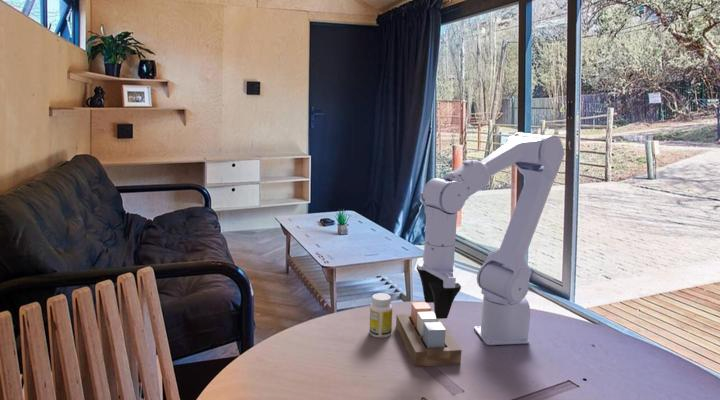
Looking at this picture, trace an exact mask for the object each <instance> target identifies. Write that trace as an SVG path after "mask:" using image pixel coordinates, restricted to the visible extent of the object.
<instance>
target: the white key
mask: <svg viewBox="0 0 720 400" xmlns="http://www.w3.org/2000/svg"><path fill="white" fill-rule="evenodd" d="M425 322H438V319H437V318H436V316H435V311H434V310H433V311H432V310H431V312H417V330H418V332H419V334H420V335H421V336H423V330H424V323H425Z"/></svg>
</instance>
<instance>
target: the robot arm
mask: <svg viewBox="0 0 720 400" xmlns="http://www.w3.org/2000/svg"><path fill="white" fill-rule="evenodd" d="M564 156H565V149H564V146H563V142H562V140H561V138H560V137H558V136H557V135H554V134H553V135H544V134H538V133H537V134H535V133H525V132H523V131H518V132H515V133H514V134H513V135H510V136H508V137H507V138H506V141H505V143H503V144H502V145H501V146H499V147H498V148H497V149H495V150H494V151H493V152H492V153H490V154H488V155H487V156H486V157H484V158H483V159H482V160H480V161H479V160H476V159H466V160H464V161H463V162H462V163H463V164H461V166H458V167H457V168H456V169H454V170H452V171H448V172H446V173H445V175H444V176H442V178H438V177H434V178H432V179H430V180H428V181H427V182H426V183H425V185H424V187H423V188H422V191H421V192H420V201H421V203H422V204H423V206H424V214H425V227H424V229H425V230H424V231H425V232H424V247H423V248H424V249H423V254H422V255H423V256H422V262H420V263H417V264H416V270H417V272H418V275H419V278H420V282H421V285H422V292H423V299H424V302H426V303H428V304H431V303H432V304H433V308H434V310H433V312H434V313H435V316H436V318H437V319H440V320H443V319H444V320H445V319H448V317H449V314H450V311H451V308H452V305H453V303H454V300H455V298H456V296H457V295H458V293H459V292H460V291H461V290H462V289H461V288H462V285H461V284H460V283H458V282H456V280H457V279H456V278H457V277H456V276H455V268H456V266H455V251H456V239H457V238H456V237H457V225H458V223H457V222H458V221H457V220H458V212H460V211H461V210H462V209H463V208H464V205H465V203H466V201H467V200H468V199H469V197H471V196H472V195H474V194H476V193H477V192H479V191H480V190H482V189H483V188H485V187H486V186H488V185H489V183H490V179H491V176H493V175H495V174H497V173H499V172H501V171H503V170H505V169H508V167H510V166H512V165H514V166H515V167H516V169H517V170H518V171H519V173H520V174H521V175H523V179H524V185H523V187H522V189H521V192H520V194H519V197H518V199H517V202H516V205H515V208H514V210H513V213H512V215H511V218H510V221H509V223H508V226H507V229H506V231H505V234H504V236H503V239H502V242H501V244H500V247H499V248H498V249H497V250H496V251H494V252H491V253H489V254H488V255H487V256H486V259H485V261H484V263H483V264H482V265H481V266H480V268H479V269H478V271H477V275H476V283H477V286H478V288H480V289H481V292H480V293H481V294H482V295H483V298H482V311H481V313H482V314H481V320H480V321H481V324H480V325H479V326H476V325H475V326H474V327H473V330H474V331H475V332H476V334H478V336H479V337H480V338H481V340H482V341H483V342H484V343H485V344H486V346H496V345H497V346H499V345H516V344H517V345H521V344H529V343H530V340H529V339H528V338H529V332H530V331H529V329H530V321H531V307H530V304H529V301H528V299H527V298H526V297H527V295H528V292H529V288H530V278H531V276H532V273H533V272H532V270H531V268H530V266H529V265H528V262H527V261H526V259H525V258H526V255H527V253H528V250H529V247H530V245H531V242H532V240H533V236H534V234H535V232H536V229H537V226H538V224H539V221H540V218H541V216H542V213H543V211H544V208H545V205H546V202H547V201H548V198H549V195H550V194H551V193H550V192H551V189H552V188H553V184H554V181H555V179H556V178H557V175H558V172H559V169H560V167H561V165H562V162H563V159H564ZM504 266H507V267H510V268H511V269H509V268H507V267H504Z"/></svg>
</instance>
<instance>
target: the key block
mask: <svg viewBox="0 0 720 400" xmlns="http://www.w3.org/2000/svg"><path fill="white" fill-rule="evenodd" d="M395 318H396V319H395V320H396V321H395V328H396V330H397V332H398V334H399V336H400V338H401V340H402V343H403V345H404V347H405V349H406V351H407V353H408V355H409V357H410V359H411V361H412V363H413V365H414V367H416V368H417V367H437V366H439V367H440V366H451V365H452V366H456V365H461V362H462V349H461V346H459V344H458V343H457V341H456V340H455V338H454V337H453V335H452V334H451V333H450V331H449V330H448V328H447V326H445V324H444V322H443V321H442V319H438V322H441V323H442V325H443V326H444V328H445V329H446V333H445V347H438V348H427V346H426V344H425V342H424V341H423V336H421V335H420V334H419V332H418V330H417V325H414V323H413V321H412V320H411V313H403V314H402V313H401V314H399V313H398V314H396V317H395Z"/></svg>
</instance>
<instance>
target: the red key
mask: <svg viewBox="0 0 720 400" xmlns="http://www.w3.org/2000/svg"><path fill="white" fill-rule="evenodd" d="M410 308H411V309H410V314H411V320H412V321H413V323H414V325H417V312H432V307H431V306H430V303H426V302H425V301H420V302H419V301H414V302H413V301H412V302H411V307H410Z"/></svg>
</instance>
